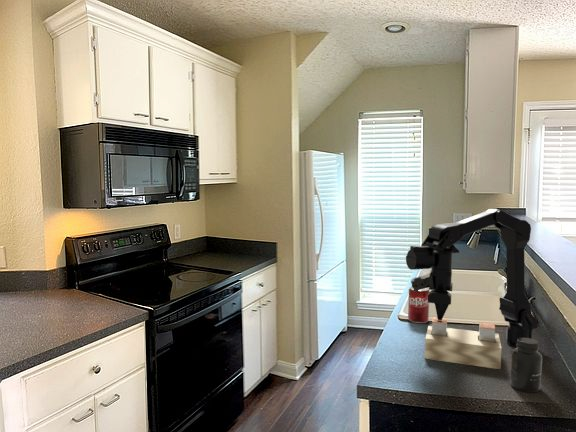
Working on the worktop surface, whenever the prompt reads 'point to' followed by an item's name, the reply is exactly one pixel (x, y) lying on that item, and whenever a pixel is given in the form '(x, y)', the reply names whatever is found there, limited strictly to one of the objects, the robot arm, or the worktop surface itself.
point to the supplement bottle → (526, 365)
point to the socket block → (463, 348)
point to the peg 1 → (439, 327)
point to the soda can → (418, 305)
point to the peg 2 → (487, 332)
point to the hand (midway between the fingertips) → (439, 319)
